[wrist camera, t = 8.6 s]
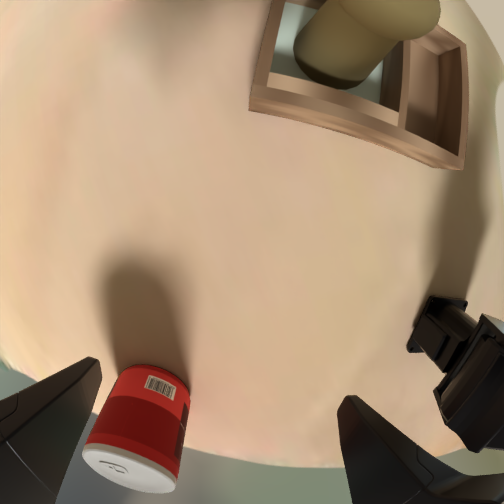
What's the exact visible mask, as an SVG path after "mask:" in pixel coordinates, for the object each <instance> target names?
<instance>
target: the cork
mask: <svg viewBox="0 0 504 504" xmlns="http://www.w3.org/2000/svg"><path fill="white" fill-rule="evenodd" d="M440 12H441V8H440V2H439V0H327V1H326V2H325V3H324V5H323V6H322V7H321V8H320V9H319V10H318V11H317V12H316V13H315V15H314V16H313V17H312V18H311V19H310V20H309V21H308V23H307V24H306V25H305V26H304V27H303V28H302V30H301V31H300V32H299V33H298V35H297V36H296V38H295V40H294V45H293V52H294V57H295V60H296V62H297V64H298V66H299V67H300V69H301V70H302V71H303V72H304V73H305V74H306V75H307V76H308V77H309V78H310V79H311V80H313V81H315V82H316V83H318V84H321V85H325V86H328V87H331V88H334V89H338V90H347V89H350V88H354V87H357V86H358V85H359V84H361V83H362V82H363V81H364V80H365V79H366V78H367V77H368V76H369V75H370V74H371V72H372V71H373V70H374V69H375V68H376V67H377V66H378V64H379V63H380V62H381V61H382V60H383V59H384V58H385V56H386V55H387V54H388V53H389V52H390V51H391V50H392V49H393V47H394V46H395V45H396V44H397V43H398V42H399V41H403V40H412V39H418V38H421V37H422V36H424V35H426V34H427V33H429V32H430V31H432V30H433V29H434V28H435V27H436V25H437V24H438V21H439V18H440Z"/></svg>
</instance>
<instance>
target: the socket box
mask: <svg viewBox="0 0 504 504" xmlns="http://www.w3.org/2000/svg"><path fill="white" fill-rule="evenodd" d="M326 1H327V0H273V1H272V5H271V9H270V13H269V17H268V21H267V25H266V29H265V33H264V37H263V41H262V45H261V49H260V54H259V58H258V62H257V67H256V71H255V76H254V80H253V85H252V89H251V94H250V102H249V111H253V112H259V113H264V114H269V115H274V116H279V117H283V118H288V119H292V120H296V121H300V122H304V123H308V124H312V125H316V126H320V127H323V128H327V129H330V130H334V131H337V132H340V133H344V134H347V135H350V136H353V137H356V138H359V139H362V140H365V141H368V142H371V143H374V144H376V145H379V146H382V147H385V148H387V149H390V150H392V151H395V152H398V153H400V154H403V155H405V156H407V157H410V158H412V159H415V160H417V161H419V162H421V163H424V164H426V165H428V166H430V167H433V168H441V169H453V170H463V169H464V161H465V153H466V144H467V132H468V113H469V80H468V62H467V51H466V44H465V43H463V42H462V41H461V40H459V39H458V38H456V37H455V36H454V35H452V34H451V33H449V32H448V31H446V30H445V29H443V28H442V27H440V26H439V25H436V27H435V28H434V29H433V30H432V31H430V32H429V33H427V34H426V35H424V36H422V37H421V38H418V39H412V40H403V41H399V42H398V43H397V44H396V45H395V46H394V47H393V49H392V50H391V51H390V52H389V53H388V54H387V55H386V56H385V58H384V59H383V60H382V61H381V62H380V63H379V64H378V66H377V67H376V68H375V69H374V70H373V71H372V72H371V74H370V75H369V76H368V77H367V78H366V79H365V80H364V81H363V82H362V83H361V84H359V85H358V86H357V87H354V88H350V89H347V90H338V89H334V88H331V87H328V86H325V85H321V84H318V83H316V82H315V81H313V80H311V79H310V78H309V77H308V76H307V75H306V74H305V73H304V72H303V71H302V70H301V69H300V67H299V66H298V64H297V62H296V60H295V57H294V52H293V45H294V40H295V38H296V36H297V35H298V33H299V32H300V31H301V30H302V28H303V27H304V26H305V25H306V24H307V23H308V21H309V20H310V19H311V18H312V17H313V16H314V15H315V13H316V12H317V11H318V10H319V9H320V8H321V7H322V6H323V5H324V3H325V2H326Z"/></svg>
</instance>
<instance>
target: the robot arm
mask: <svg viewBox="0 0 504 504" xmlns="http://www.w3.org/2000/svg"><path fill="white" fill-rule="evenodd" d="M432 300H433V301H432ZM467 305H468V302H467V301H466V300H465V299H457V298H450V297H442V296H435V295H432V296H430V297H429V299H428V301H427V303H426V306H425V308H424V311H423V313H422V315H421V318H420V320H419V322H418V325H417V327H416V329H415V331H414V333H413V335H412V338H411V340H410V342H409V344H408V346H407V351H408V352H409V353H422V352H425V353H426V355H427V356H428V357H429V358H430V359H431V360H432V361H433V362H434V363H435V364H436V365H437V367H438V368H439V369H440V370H441V371H442V373H445V377H444V378H443V379H442V381H441V382H440V384H439V385H438V386H437V387H436V388H435V389H434V390H433V393H434V396H435V398H436V401H437V404H438V407H439V410H440V413H441V416H442V418H443V421H444V424H445V425H446V426H448V427H449V428H450V429H451V430H452V431H454V432H455V433H456V434H457V435H458V436H459V437H460V438H461V440H462V441H463V443H464V444H465V446H466V448H467V449H468V450H469V451H472V452H475V453H479V452H480V451H481V450H482V449H483V448H488V449H496V450H504V322H503V321H501V320H499V319H496V318H494V317H491V316H489V315H486V314H483V313H482V314H481V316H480V318H479V319H480V320H479V322H476V321H475V320H474V319H473V318H472V317H470V316H469V315H468V314H467V313H465V310H466V307H467ZM101 381H102V372H101V367H100V362H99V360H98V359H95V358H92V357H86V358H84V359H82V360H81V361H79V362H77V363H75V364H73V365H71V366H69V367H67V368H65V369H63V370H61V371H59V372H57V373H55V374H53V375H51V376H49V377H47V378H45V379H43V380H41V381H39V382H37V383H36V384H34V385H31V386H29V387H27V388H26V389H23V390H22V391H19V393H15V394H14V395H11V396H9V397H7V398H5V399H3V400H1V401H0V504H55V502H56V499H57V495H58V493H59V490H60V487H61V484H62V481H63V479H64V476H65V474H66V471H67V468H68V466H69V463H70V461H71V458H72V456H73V453H74V451H75V449H76V446H77V444H78V442H79V439H80V437H81V435H82V432H83V430H84V427H85V426H86V423H87V421H88V419H89V417H90V414H91V412H92V409H93V405H94V402H95V399H96V396H97V393H98V390H99V387H100V384H101ZM337 418H338V427H339V437H340V446H341V451H342V456H343V460H344V465H345V469H346V474H347V479H348V484H349V488H350V493H351V498H352V503H353V504H504V473H501V474H492V475H480V476H469V475H465V474H462V473H460V472H458V471H457V470H455V469H453V468H451V467H450V466H448V465H446V464H445V463H443V462H441V461H440V460H438V459H436V458H435V457H434V456H432V455H431V454H429V453H428V452H426V451H425V450H424V449H422V448H421V447H420V446H419V445H417V444H416V443H415V442H413V441H412V440H411V439H410V438H408V437H407V436H406V435H404V434H403V433H402V432H401V431H399V430H398V429H397V428H396V427H394V426H393V425H392V424H391V423H390V422H388V421H387V420H386V419H385V418H383V417H382V416H381V415H380V414H379V413H377V412H376V411H375V410H374V409H372V408H371V407H370V406H369V405H368V404H366V403H365V402H364V401H363V400H362V399H360V398H359V397H358V396H356V395H347V396H346V397H345V398H344V399H343V401H342V403H341V405H340V406H339V408H338V411H337Z"/></svg>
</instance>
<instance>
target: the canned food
mask: <svg viewBox="0 0 504 504" xmlns="http://www.w3.org/2000/svg"><path fill="white" fill-rule="evenodd" d="M189 409H190V397H189V392H188V390H187V388H186V386H185V385H184V383H183V382H182V381H181V380H180V379H179V378H177V377H176V376H175V375H173V374H172V373H170V372H168V371H166V370H164V369H161V368H158V367H155V366H150V365H135V366H131V367H129V368H127V369H126V370H124V371H123V372H122V373H121V374H120V375H119V376H118V378H117V380H116V382H115V384H114V386H113V388H112V390H111V392H110V394H109V396H108V398H107V400H106V402H105V404H104V406H103V408H102V410H101V412H100V414H99V416H98V418H97V420H96V422H95V424H94V426H93V428H92V430H91V432H90V435H89V437H88V439H87V442H86V444H85V446H84V449H83V453H82V456H83V458H84V460H85V461H86V462H87V464H88V465H89V466H90V467H92V468H93V469H94V470H95V471H96V472H98V473H99V474H101V475H102V476H104V477H105V478H108V479H109V480H111V481H113V482H115V483H117V484H120V485H122V486H125V487H128V488H131V489H134V490H138V491H143V492H149V493H167V492H171V491H173V490H174V488H175V485H176V483H177V478H178V473H179V467H180V461H181V454H182V449H183V443H184V437H185V431H186V426H187V420H188V414H189Z"/></svg>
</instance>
